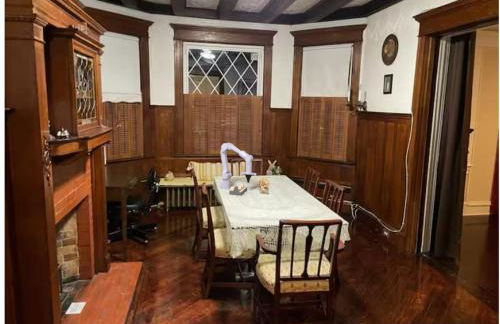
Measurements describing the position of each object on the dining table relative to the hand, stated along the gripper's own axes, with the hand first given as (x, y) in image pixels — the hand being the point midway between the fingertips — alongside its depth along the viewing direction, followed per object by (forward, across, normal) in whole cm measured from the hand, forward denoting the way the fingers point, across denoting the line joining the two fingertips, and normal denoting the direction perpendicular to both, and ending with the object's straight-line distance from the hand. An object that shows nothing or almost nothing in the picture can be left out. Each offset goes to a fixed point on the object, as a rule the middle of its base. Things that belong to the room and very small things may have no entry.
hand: (248, 182), depth 347 cm
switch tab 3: (+5, -6, 0) cm, 8 cm away
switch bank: (+8, -8, -7) cm, 13 cm away
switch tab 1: (+5, -11, -14) cm, 19 cm away
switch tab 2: (+5, -6, -7) cm, 11 cm away
